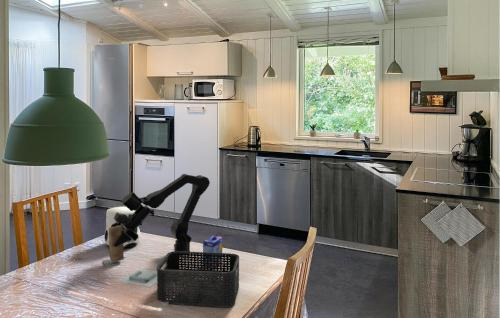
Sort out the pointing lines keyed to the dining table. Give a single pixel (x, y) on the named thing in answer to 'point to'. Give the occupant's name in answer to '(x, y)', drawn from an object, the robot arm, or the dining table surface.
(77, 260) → the dining table surface
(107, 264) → the slate coaster
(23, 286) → the dining table surface
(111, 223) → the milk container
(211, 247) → the ink cartridge box
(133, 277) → the pocket board
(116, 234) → the walnut block
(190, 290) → the storage bin
